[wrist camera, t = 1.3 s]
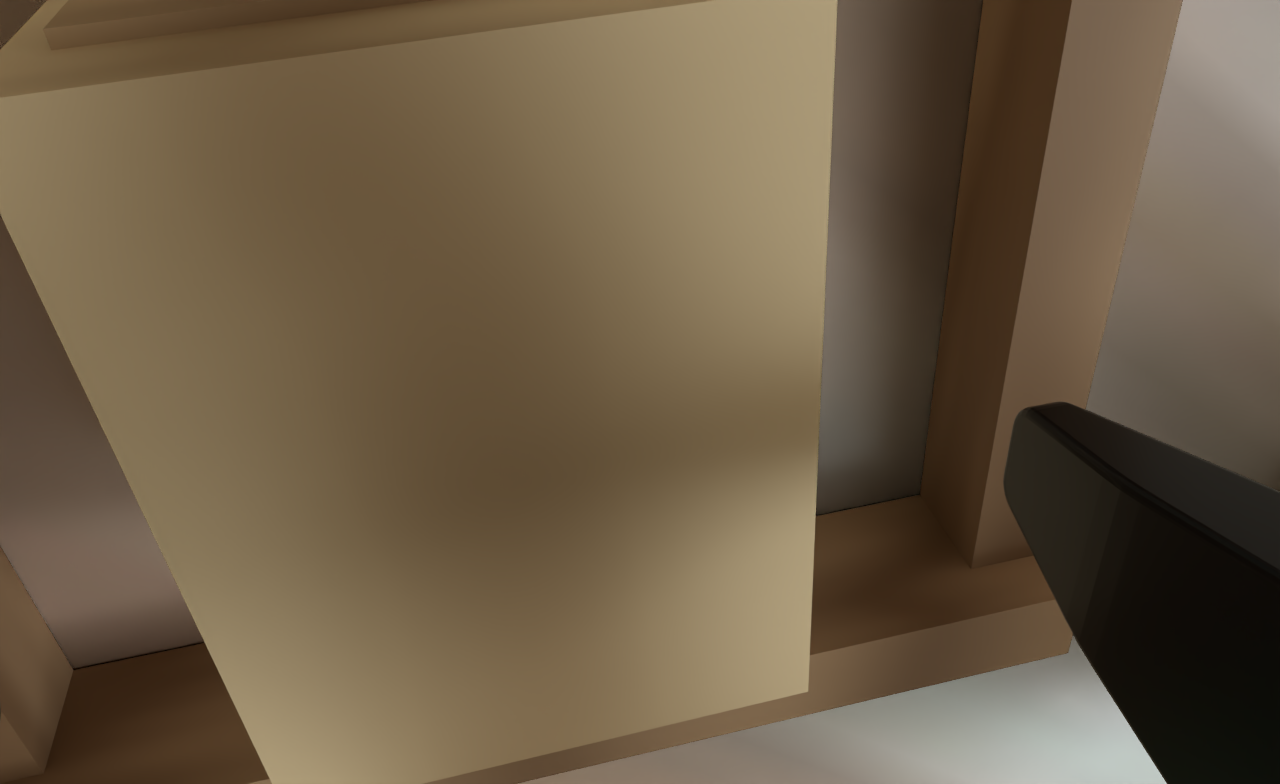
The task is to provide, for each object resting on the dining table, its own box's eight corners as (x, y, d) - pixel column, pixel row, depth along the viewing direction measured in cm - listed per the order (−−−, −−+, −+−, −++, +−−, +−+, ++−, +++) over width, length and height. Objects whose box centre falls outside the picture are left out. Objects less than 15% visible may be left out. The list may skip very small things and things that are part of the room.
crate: (646, -153, 12) (838, -38, 7) (679, 410, 17) (807, 700, 12) (115, -92, 11) (-63, 81, 6) (309, 481, 16) (290, 823, 11)
